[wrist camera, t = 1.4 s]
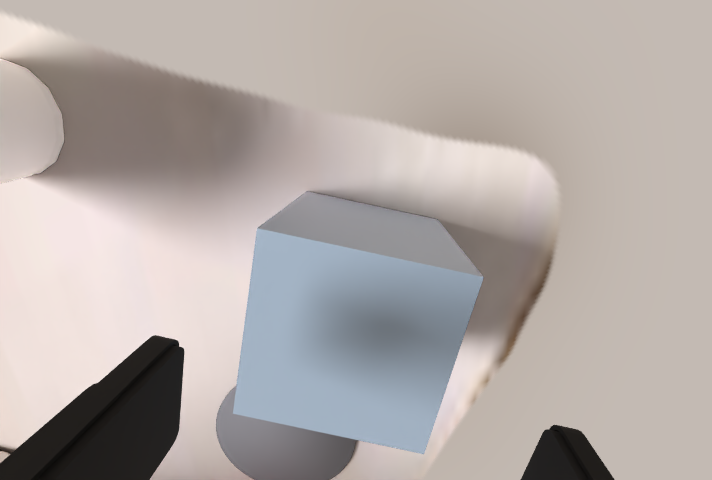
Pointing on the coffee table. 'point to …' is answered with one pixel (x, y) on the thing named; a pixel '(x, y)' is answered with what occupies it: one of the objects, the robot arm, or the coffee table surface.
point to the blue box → (353, 321)
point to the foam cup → (27, 124)
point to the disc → (279, 447)
